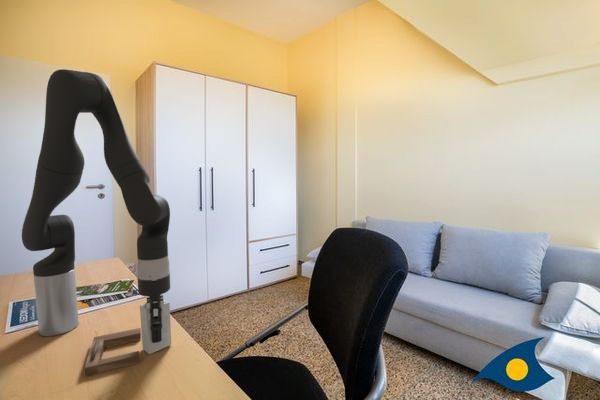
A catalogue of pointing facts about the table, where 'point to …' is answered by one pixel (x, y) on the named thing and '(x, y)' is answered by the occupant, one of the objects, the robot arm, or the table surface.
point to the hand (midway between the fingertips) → (156, 335)
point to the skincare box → (147, 332)
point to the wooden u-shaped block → (100, 365)
